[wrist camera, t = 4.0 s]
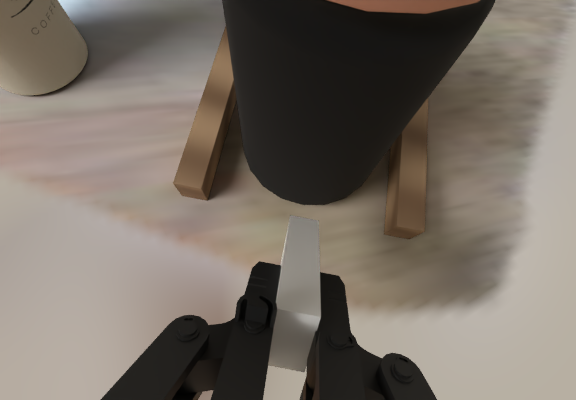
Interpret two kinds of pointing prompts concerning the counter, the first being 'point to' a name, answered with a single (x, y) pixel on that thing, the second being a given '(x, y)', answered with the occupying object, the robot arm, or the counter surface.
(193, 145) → the bay
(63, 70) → the travel mug
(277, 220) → the counter surface
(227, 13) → the coffee jar
